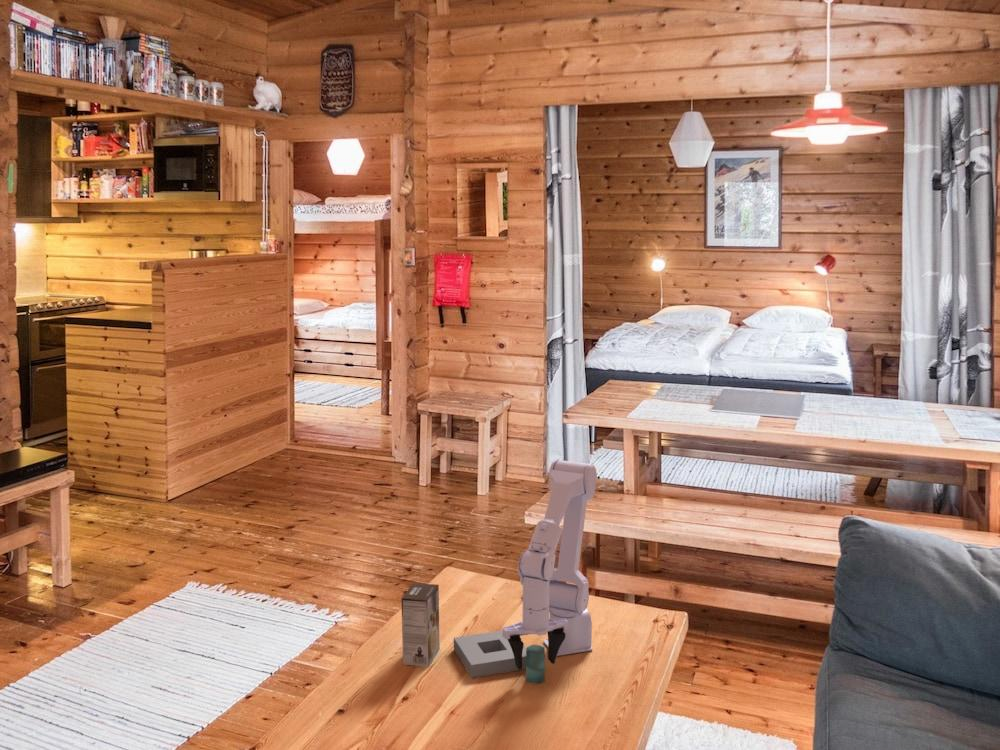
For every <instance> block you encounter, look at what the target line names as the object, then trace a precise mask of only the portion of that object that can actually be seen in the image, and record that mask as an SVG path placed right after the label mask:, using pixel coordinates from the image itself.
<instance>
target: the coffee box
mask: <svg viewBox="0 0 1000 750" xmlns="http://www.w3.org/2000/svg"><path fill="white" fill-rule="evenodd" d="M439 586H440V584H434V583H433V584H431V583H430V584H429V583H415V582H413V583H411V585H410V586H409V587H408V589H407V590H406V592H405V593H404V594H403V596H402V597H401V598H400V600H401V632H402V633H401V635H402V637H401V638H402V641H401V642H402V664H403V665H404V664H405V665H406V666H414V665H415V667H426V668H429V667H430V665H431V664H432V662H433V661H434V659H435V658H436V655H437V654H438V652H439V651H440V649H441V648H440V603H439V602H440V597H439V595H440V594H439V591H440V590H439ZM405 665H404V666H405Z"/></svg>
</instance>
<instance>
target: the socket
mask: <svg viewBox="0 0 1000 750" xmlns="http://www.w3.org/2000/svg"><path fill="white" fill-rule="evenodd" d="M526 648H527V647H526V646H525V645H524V646H523V651H522V669H518V668H517V667H516V664H515V658H514V654H513V651H512V648H511V646H510V644H509V642H508V640H507V639H505V638H504V637H503V629H502V630H496V631H490V632H483V633H477V634H469V635H463V636H457V637H453V651H454V652H455V654H456V655H457V657H458V659H459V660H460V662H461V663H462V665H463V666H464V668H465V670H466V671H467V673H468V674H469V676H470V678H471V679H472V678H473V679H474V678H478V677H479V678H480V677H486V676H492V675H497V674H503V673H509V672H514V671H520V670H521V671H522V670H526Z"/></svg>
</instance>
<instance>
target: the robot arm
mask: <svg viewBox="0 0 1000 750" xmlns="http://www.w3.org/2000/svg"><path fill="white" fill-rule="evenodd" d="M597 478H598V473H597V469H596V466H595V465H594V464H593V463H591V462H589V463H586V462H579V461H577V462H576V461H569V460H561V459H559V458H556V459H554V460H553V461H552V463H551V464H550V467H549V471H548V479H549V486H550V490H551V492H550V496H549V499H548V502H547V508H546V511H545V515H544V519H541V520H539V521H537V524H536V525H535V528H534V532H533V533H532V537H531V539H530V542H529V545H528V548H527V550H526V551H523V552H522V553H520V557H519V559H518V565H517V572H518V575H519V580H520V581H519V582H520V583H519V584H520V585H522V621H520V622H516V623H514V624H511V625H508V626H503V627H502V630H503V637H504V638H505V639H507V640H508V642H509V644H510V646H511V648H512V651H513V654H514V658H515V664H516V667H517V668H518V669H522V651H523V646H524V647H525V643H524V642H523V641H522V637H521V636H529V635H537V636H544V635H547V638H546V639H545V638H544V639H543V641H542V642H543V643H544V644H545V645H546V647H547V648H548V651H547V657H548V659H547V660H548V661H549V662H550V664H551V665H554V664H556V660H557V657H560V656H565V655H566V656H567V655H570V654H577V653H584V652H589V651H593V647H592V637H593V636H592V629H593V628H592V625H593V623H592V617H591V614H590V611H589V609H588V606H589V605H588V604H589V598H590V592H589V586H590V585H589V579H587V577H586V576H584V574H583V573H582V572H580V570H579V569H580V568H579V567H580V561H581V560H580V559H581V552H582V543H583V537H584V536H583V535H584V529H585V528H584V527H585V521H586V511H587V506H588V501H589V500H591V499H592V500H593V499H594V498H595V494H596V489H597ZM562 519H563V524H562V528H561V526H560V523H561V522H562ZM560 539H561V540H560ZM559 542H560V545H559ZM558 545H559V547H560V548H559V554H558V560H557V561H558V562H557V568H555V562H556V557H557V555H556V554H555V553H556V550H557V548H558ZM522 670H523V669H522Z"/></svg>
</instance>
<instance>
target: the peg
mask: <svg viewBox="0 0 1000 750" xmlns="http://www.w3.org/2000/svg"><path fill="white" fill-rule="evenodd" d="M525 648H526V669H525V680H526V681H527V683H529V684H532V683H533V684H534V683H535V684H534V685H538V684H543V683H544V682H545V679H546V678H545V677H546V675H545V671H546V670H545V669H546V668H545V667H546V664H545V662H546V661H545V660H546V659H545V658H546V657H545V655H546V654H545V653H546V652H545V651H546V648H545V647H544V646H543V645H538V644H532V645H531V644H530V645H528V646H527V647H525ZM543 681H544V682H543Z"/></svg>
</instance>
